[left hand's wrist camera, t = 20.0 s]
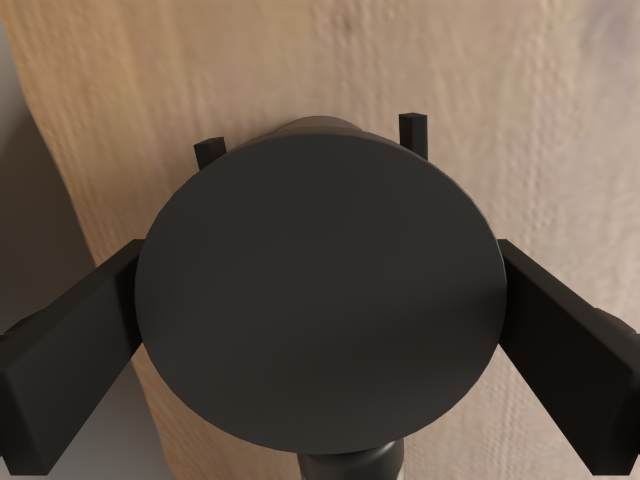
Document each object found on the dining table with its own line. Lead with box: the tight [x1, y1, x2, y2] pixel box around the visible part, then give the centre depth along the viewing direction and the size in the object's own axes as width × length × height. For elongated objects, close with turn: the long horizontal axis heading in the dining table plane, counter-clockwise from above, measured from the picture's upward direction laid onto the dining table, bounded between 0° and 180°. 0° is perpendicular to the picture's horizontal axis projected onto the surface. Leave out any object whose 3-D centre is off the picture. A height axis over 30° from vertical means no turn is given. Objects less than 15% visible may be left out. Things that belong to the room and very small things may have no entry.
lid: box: [134, 126, 507, 454], centre depth 11 cm, size 10×10×2 cm
